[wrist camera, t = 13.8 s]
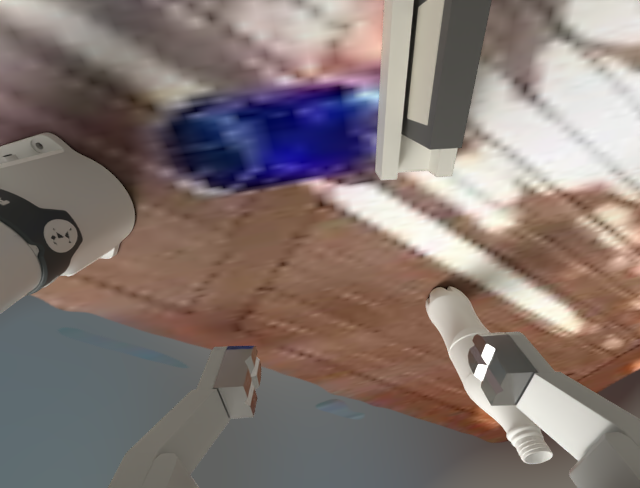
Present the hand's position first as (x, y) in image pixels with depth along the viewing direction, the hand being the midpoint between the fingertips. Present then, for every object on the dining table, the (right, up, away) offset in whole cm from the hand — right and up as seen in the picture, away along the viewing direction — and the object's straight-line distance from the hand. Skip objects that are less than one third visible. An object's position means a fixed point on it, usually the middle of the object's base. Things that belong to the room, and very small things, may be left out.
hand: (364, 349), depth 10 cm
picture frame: (+10, +24, +21) cm, 33 cm away
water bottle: (+21, -6, +40) cm, 45 cm away
